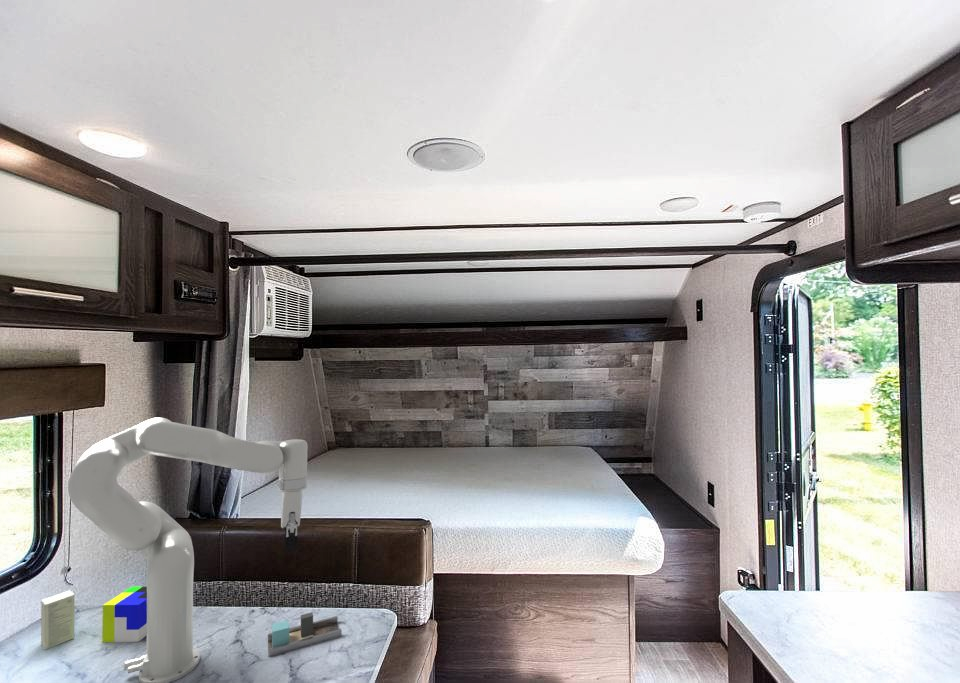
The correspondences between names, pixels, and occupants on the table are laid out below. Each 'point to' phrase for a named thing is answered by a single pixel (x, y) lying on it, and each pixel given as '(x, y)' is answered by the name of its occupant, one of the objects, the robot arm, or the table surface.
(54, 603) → the skincare box
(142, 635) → the puzzle toy
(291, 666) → the table surface
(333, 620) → the board
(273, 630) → the cube
